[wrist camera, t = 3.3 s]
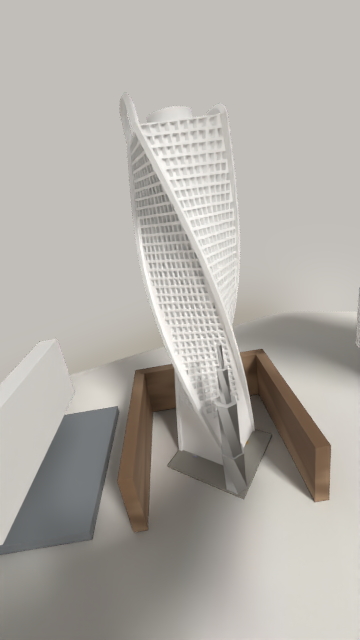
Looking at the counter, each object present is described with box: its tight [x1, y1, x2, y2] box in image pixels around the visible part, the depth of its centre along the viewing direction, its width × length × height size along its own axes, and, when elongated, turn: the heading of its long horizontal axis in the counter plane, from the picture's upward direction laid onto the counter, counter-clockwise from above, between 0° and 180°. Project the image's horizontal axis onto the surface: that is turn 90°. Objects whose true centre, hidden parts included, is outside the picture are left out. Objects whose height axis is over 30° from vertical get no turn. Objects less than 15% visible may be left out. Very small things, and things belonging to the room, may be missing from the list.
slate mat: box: [0, 406, 119, 555], centre depth 27 cm, size 16×14×1 cm
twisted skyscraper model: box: [120, 92, 272, 499], centre depth 22 cm, size 8×8×28 cm
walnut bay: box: [117, 349, 331, 532], centre depth 26 cm, size 14×14×5 cm
